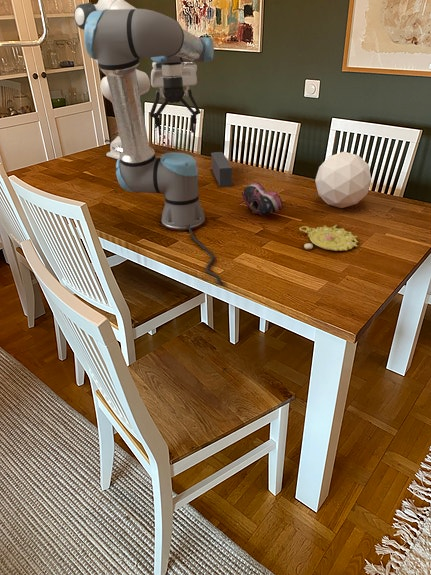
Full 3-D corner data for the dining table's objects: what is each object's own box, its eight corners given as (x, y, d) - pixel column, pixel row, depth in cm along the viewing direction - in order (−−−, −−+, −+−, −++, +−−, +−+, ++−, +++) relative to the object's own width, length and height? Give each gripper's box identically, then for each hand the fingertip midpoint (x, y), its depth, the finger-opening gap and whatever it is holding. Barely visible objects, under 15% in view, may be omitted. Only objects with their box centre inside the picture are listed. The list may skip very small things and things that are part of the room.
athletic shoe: (254, 181, 170) (227, 189, 167) (283, 176, 151) (253, 185, 147) (260, 210, 173) (234, 218, 170) (290, 209, 154) (261, 219, 150)
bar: (232, 186, 186) (232, 167, 182) (220, 186, 185) (219, 168, 181) (222, 168, 206) (222, 151, 202) (211, 169, 205) (211, 152, 201)
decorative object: (343, 255, 128) (285, 234, 139) (342, 262, 130) (284, 241, 140) (372, 230, 142) (317, 213, 152) (371, 237, 143) (316, 219, 153)
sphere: (346, 226, 165) (361, 198, 146) (301, 199, 169) (309, 168, 151) (372, 190, 170) (389, 158, 151) (327, 165, 174) (338, 131, 156)
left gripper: (195, 60, 194) (197, 94, 201) (148, 63, 191) (152, 97, 199) (197, 62, 189) (199, 97, 196) (149, 64, 186) (152, 99, 193)
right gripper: (202, 73, 175) (204, 129, 186) (139, 77, 171) (145, 133, 182) (206, 76, 168) (208, 133, 180) (140, 79, 165) (146, 137, 176)
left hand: (175, 97), depth 197 cm, fingers open, 8 cm apart
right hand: (176, 133), depth 181 cm, fingers open, 13 cm apart
